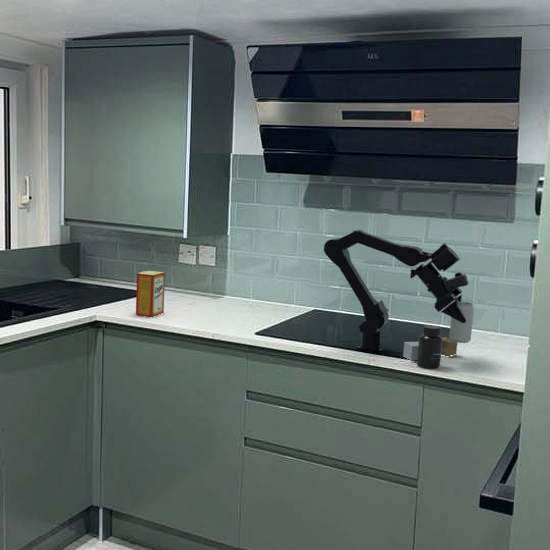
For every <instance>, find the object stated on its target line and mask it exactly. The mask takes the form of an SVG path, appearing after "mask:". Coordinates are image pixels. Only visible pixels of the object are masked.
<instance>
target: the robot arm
mask: <svg viewBox="0 0 550 550" xmlns="http://www.w3.org/2000/svg"><path fill="white" fill-rule="evenodd" d="M357 244H360V245H363V246H365V247H367V248H371V249H373V250H376V251H379V252H381V253H385V254H387V255H390V256H392V257H394V258H395V259H396V260H398V261H399V262H401V263H402V264H404V265H406V266H409V267H416V266H417V265H419V266H417V267H416V268H411V269H410V275H409V277H410V279H413V278H415V277H416V276H417V277H418V278H419V280H420V281H421V282H422V283H423V285H424V286H425V287H426V288H427V289H426V291H427V293H431V295H432V296H433V297H434V298H435V303H434V307H433V308H434V309H435V310H436V312H437V313H439V312H440V313H442V314H444V315H446V316H449V317H450V318H451V317H452V318H454V319H456V320H458V321H460V322H462V323H465V322H466V319H465V318H464V316H463V314H462V313H461V311H460V309H459V307H458V301H462V299H463V294H462V293H463V291H462V288H463V287H466V286H468V285H469V284H470V283H469V280H468V276H467V275H466V273H464V274H463V273H462V272H460V271H459V272H456V273H454V277H452V278H449V279H448V278H447V277H446V276H442V274H441V273H440V271H444V272H446V271H447V270H448V269H450V268H451V267H452V266H453V265H455V264H456V263H457V262H458V261H460V257H459V256H458V254H457V252H455V250H454V249H452V248H450V246H449V245H448V244H446V243H445V242H444V243H443V244H441V245H440V246H439V248H437V249H436V250H435V251H433V252H432V253H431V252H427V251H424V250H423V249H422V248H421V247H419V246H417V245H416V246H414V245H410V244H403V243H396V242H393V241H391V240H388V239H385V238H382V237H379V236H377V235H374V234H371V233H368V232H365V231H363V230H362V229H357V230H353V231H352V232H350V233H349V234H346V235H344V236H342V237H340V238H339V237H337V238H331V239H329V240H327V241H326V242H325V243H324V245H323V252H324V254H325V255H326V256H327V258H328V259H329V260H330V261H331V262H332V263H334V265H335V266H337V267H338V268H339V270H340V271H341V273H342V275H343V276H344V278H345V280H346V281H347V283H348V285H349V287H350V288H351V289H352V291H353V293H354V295H355V296H356V298H357V300H358V301H359V303H360V305H361V307H362V311H363V317H364V318H365V321H363V322H362V323H361V324H360V325H359V326H358V328H359V331H360V339H359V342H360V343H359V345H356V346H355V348H356V349H358V348H359V349H358V350H360V349H361V351H362V350H364V351H363V352H365V351H366V353H373V352H372V351H378V352H384V349H382V348H380V347H381V332H380V330H382V328H383V326H385V325H386V324H387V323H388V321H389V318H390V316H389V315H390V314H389V313H388V312H389V311H390V310H389V309H388V308H387V307H386V305H385V303H384V301H383V300H380V301H377V300H376V299H375V298H374V296H373V295H372V293H371V292H370V290H369V289H368V287H367V285H366V283H365V282H364V280H363V279H362V277H361V276H360V273H359V272H358V270H357V268H356V267H355V265H354V264H353V262H352V259H351V254H350V251H349V248H351V247H353V246H355V245H357ZM429 260H430V261H429ZM427 261H428V262H427ZM426 262H427V263H426ZM423 263H426V264H423ZM460 287H462V288H460Z"/></svg>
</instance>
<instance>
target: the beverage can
mask: <svg viewBox="0 0 550 550" xmlns="http://www.w3.org/2000/svg"><path fill="white" fill-rule="evenodd" d="M458 307H459V309H460V311H461V313H462V314H463V316H464V318H465V319H466V322H465V323H462V322H460V321H458V320H456V319H454V318H452V317H450V325H449V326H450V327H449V337H448V338H449V339H451V341H453V342H457V344H458V343H459V344H467V343H469V342H470V341H472V340H471V339H472V330H473V321H474V320H473V319H474V310H475V308H474V306H473V303H472V302H470V301H464V300H463V301H462V300H461V301H458Z"/></svg>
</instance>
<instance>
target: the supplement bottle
mask: <svg viewBox="0 0 550 550" xmlns="http://www.w3.org/2000/svg"><path fill="white" fill-rule="evenodd" d="M422 332H423V334H421V335H420V336H419V338H418V342H419V345H418V355H417V362H416V365H417V366H418V367H419V368H423V369H426V370H429V369H430V370H436V368H437V369H439V368H440V366H441V358H442V356H441V350H442V338H443V337H442V336H440V334H441V328H440V327H439V326H436V325H424V326H423V329H422Z"/></svg>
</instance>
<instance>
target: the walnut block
mask: <svg viewBox="0 0 550 550" xmlns="http://www.w3.org/2000/svg"><path fill="white" fill-rule="evenodd" d="M441 338H442V350H441V354H442V355H445V356H450V355H454V354H456V355H457V351H458V342H453V341H451V339H450V338H449V337H445V336H444V337H441Z"/></svg>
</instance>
